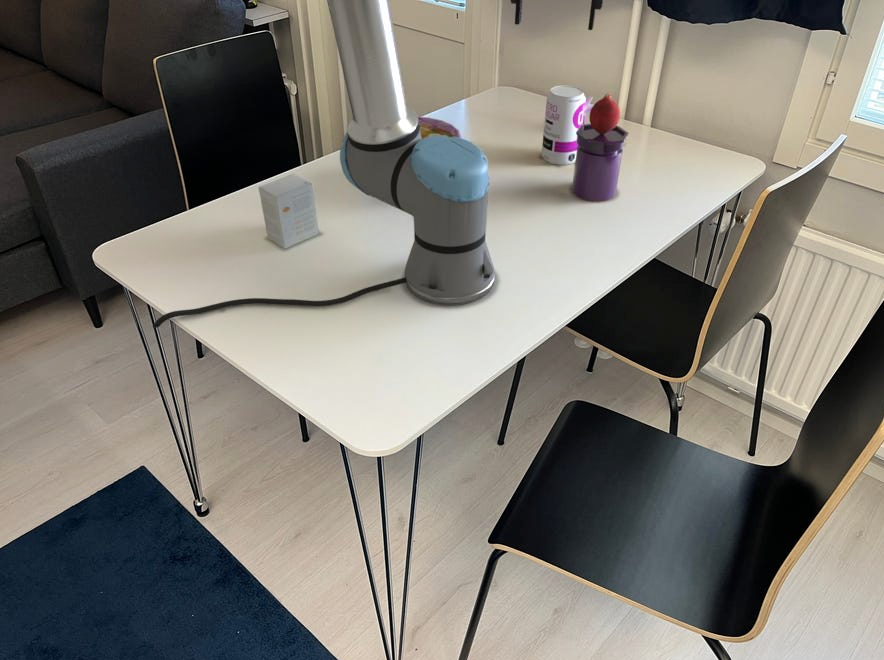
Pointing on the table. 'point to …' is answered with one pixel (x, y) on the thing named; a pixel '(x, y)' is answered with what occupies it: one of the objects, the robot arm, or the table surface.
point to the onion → (604, 115)
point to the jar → (597, 163)
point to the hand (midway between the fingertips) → (554, 25)
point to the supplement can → (562, 124)
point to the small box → (289, 210)
